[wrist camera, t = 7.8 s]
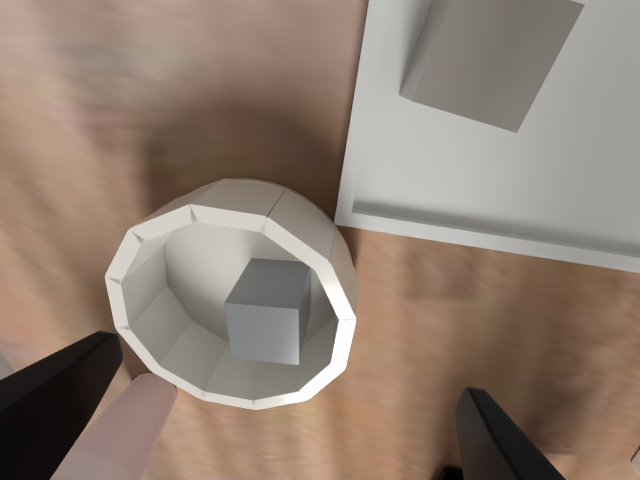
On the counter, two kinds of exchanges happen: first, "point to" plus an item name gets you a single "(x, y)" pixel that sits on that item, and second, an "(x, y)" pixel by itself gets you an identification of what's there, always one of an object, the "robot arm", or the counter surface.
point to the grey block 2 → (487, 56)
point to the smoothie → (122, 434)
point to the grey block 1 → (269, 311)
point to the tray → (503, 148)
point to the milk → (636, 462)
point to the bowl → (218, 281)
